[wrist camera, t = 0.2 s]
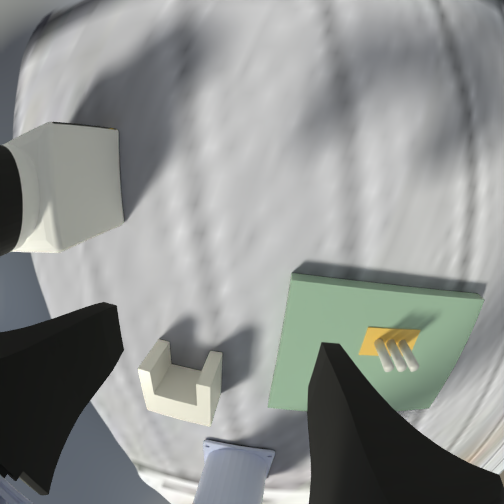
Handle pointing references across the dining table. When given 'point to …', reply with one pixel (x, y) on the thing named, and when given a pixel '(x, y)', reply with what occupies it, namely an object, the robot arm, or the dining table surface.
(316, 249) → the dining table surface
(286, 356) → the header board
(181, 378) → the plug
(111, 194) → the medicine bottle
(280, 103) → the dining table surface
